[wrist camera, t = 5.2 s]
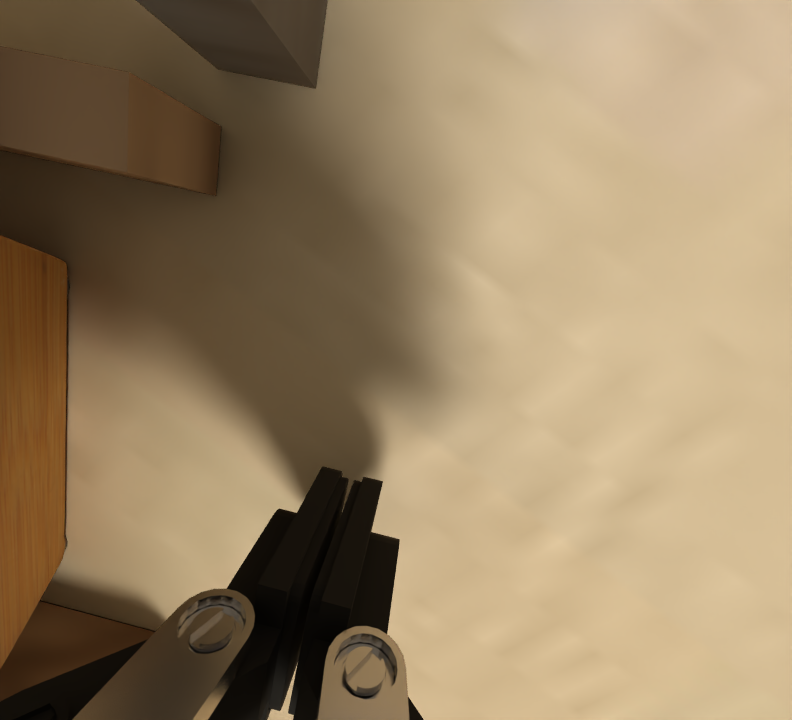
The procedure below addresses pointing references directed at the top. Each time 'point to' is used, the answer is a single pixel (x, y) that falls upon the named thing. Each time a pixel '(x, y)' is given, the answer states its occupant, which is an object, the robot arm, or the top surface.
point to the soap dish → (30, 430)
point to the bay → (145, 160)
